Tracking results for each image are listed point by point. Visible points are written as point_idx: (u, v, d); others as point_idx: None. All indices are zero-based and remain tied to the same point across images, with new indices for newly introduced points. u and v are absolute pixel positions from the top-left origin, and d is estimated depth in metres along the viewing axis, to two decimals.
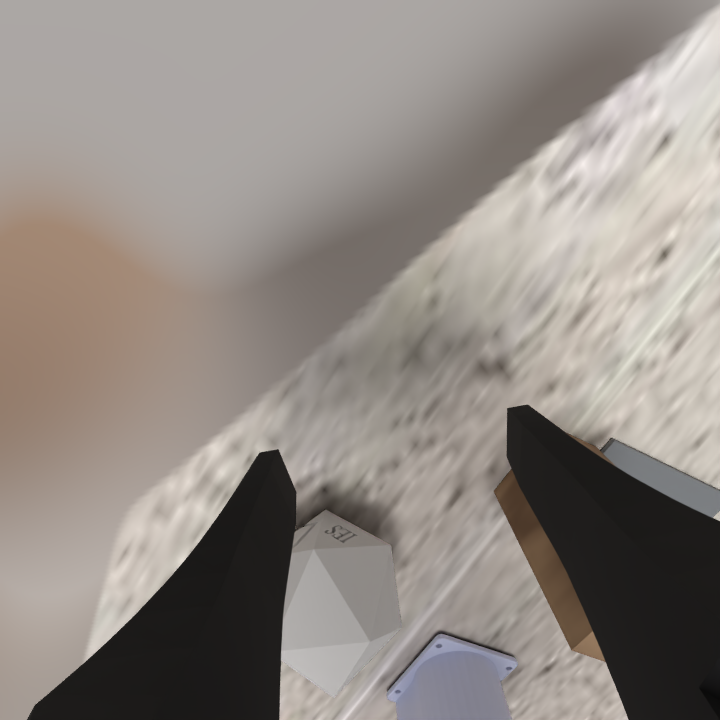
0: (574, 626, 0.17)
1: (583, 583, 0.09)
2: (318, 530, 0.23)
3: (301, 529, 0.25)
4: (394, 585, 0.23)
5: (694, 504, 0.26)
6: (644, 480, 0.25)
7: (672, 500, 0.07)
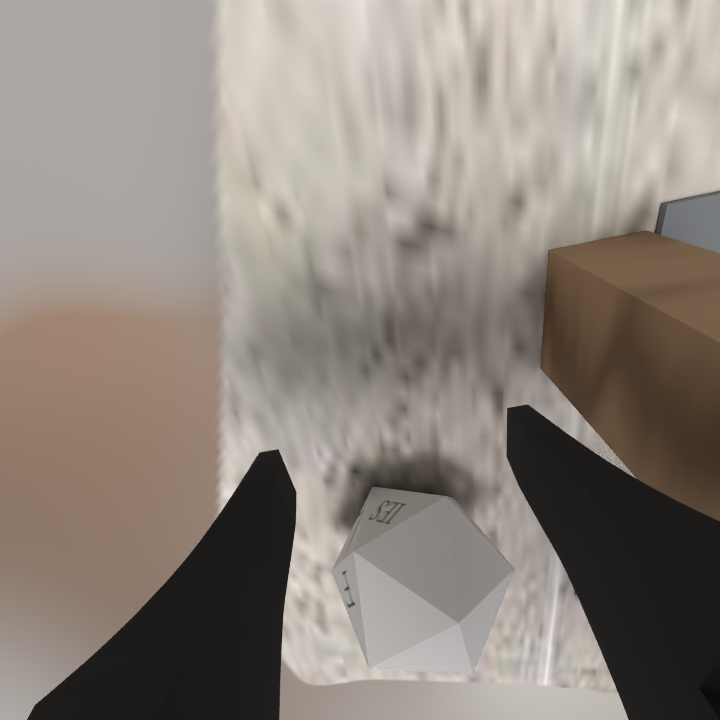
0: None
1: (583, 583, 0.09)
2: (362, 520, 0.20)
3: (356, 520, 0.22)
4: (475, 534, 0.19)
5: None
6: None
7: (672, 500, 0.07)
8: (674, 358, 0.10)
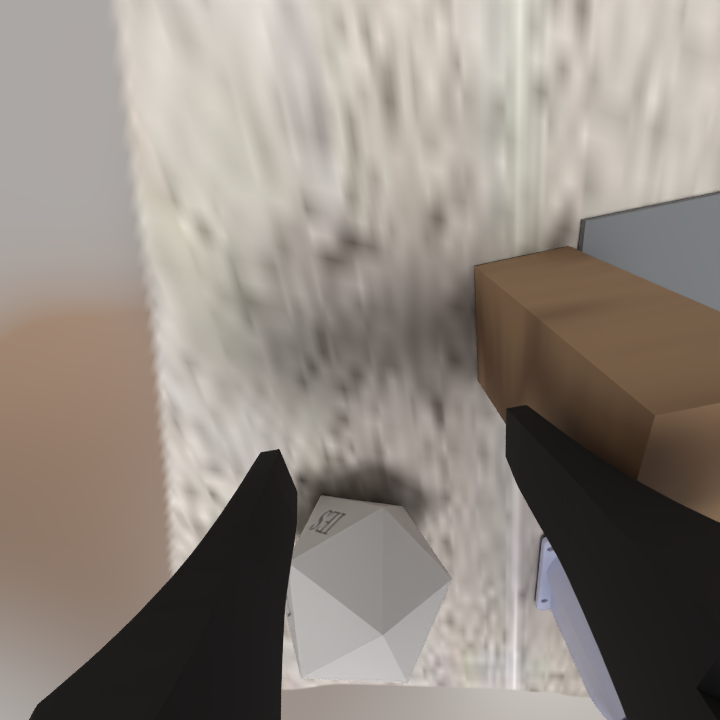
0: None
1: (581, 583, 0.09)
2: (304, 529, 0.20)
3: None
4: (412, 544, 0.19)
5: None
6: (677, 241, 0.16)
7: (670, 500, 0.07)
8: (569, 381, 0.10)
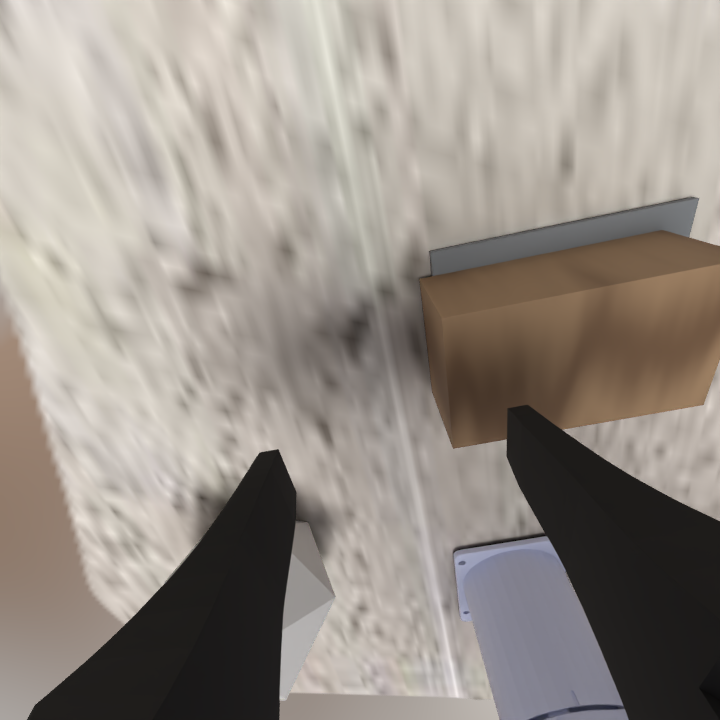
0: (692, 393, 0.15)
1: (583, 583, 0.09)
2: None
3: None
4: (294, 564, 0.19)
5: None
6: None
7: (672, 500, 0.07)
8: (658, 305, 0.13)
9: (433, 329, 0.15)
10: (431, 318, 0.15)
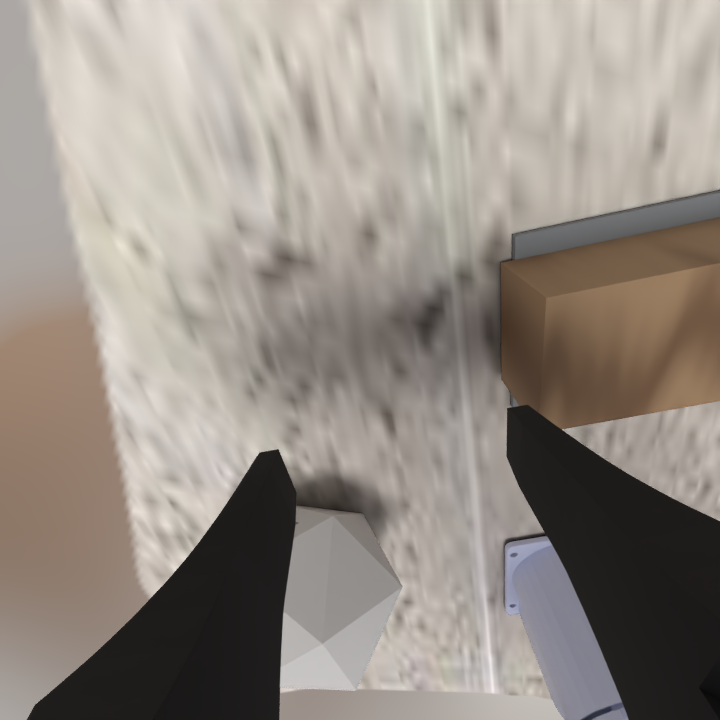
0: None
1: (583, 583, 0.09)
2: None
3: None
4: (361, 553, 0.19)
5: None
6: None
7: (672, 500, 0.07)
8: None
9: (522, 312, 0.14)
10: (520, 301, 0.14)
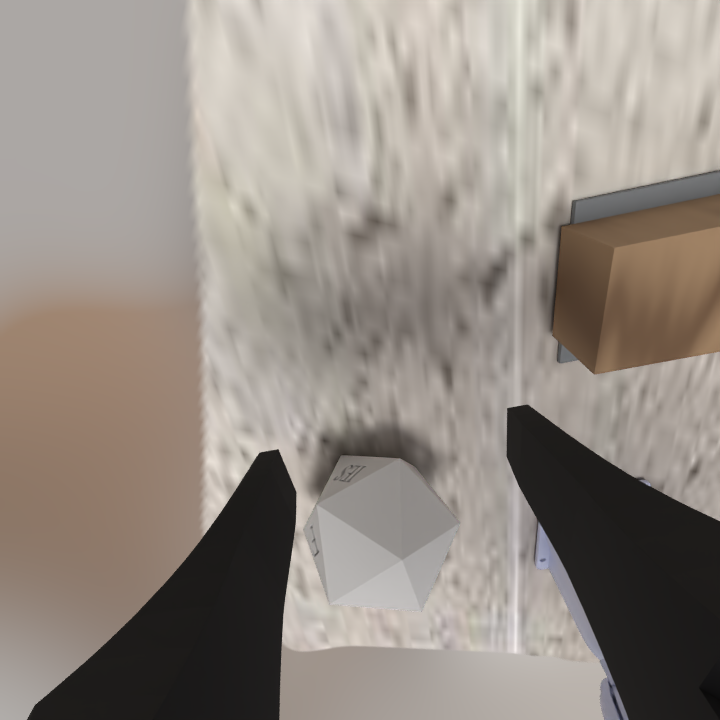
0: None
1: (583, 583, 0.09)
2: (328, 481, 0.23)
3: None
4: (425, 491, 0.21)
5: None
6: None
7: (672, 500, 0.07)
8: None
9: (584, 266, 0.17)
10: (582, 257, 0.17)
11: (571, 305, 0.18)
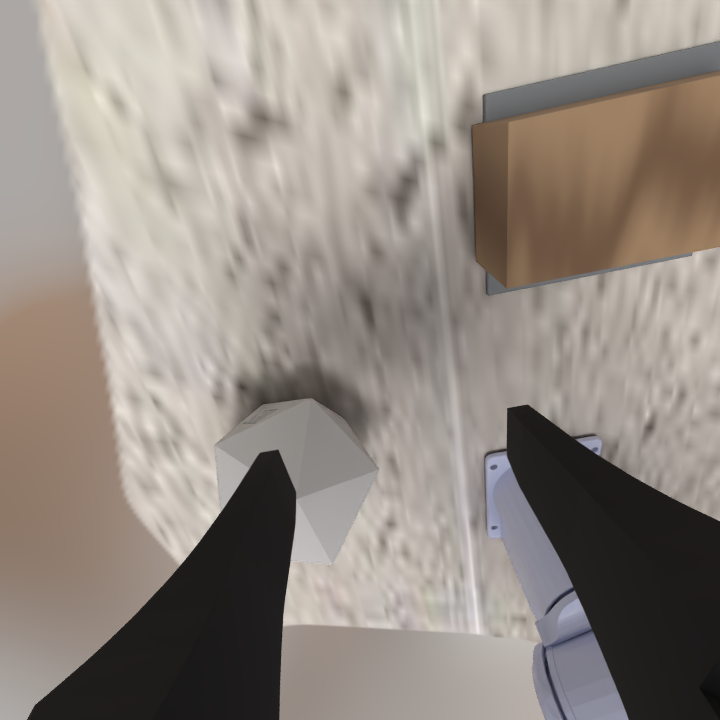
0: None
1: (583, 583, 0.09)
2: (238, 426, 0.21)
3: None
4: (339, 434, 0.20)
5: None
6: None
7: (672, 500, 0.07)
8: None
9: (490, 162, 0.15)
10: (488, 151, 0.15)
11: (485, 216, 0.17)
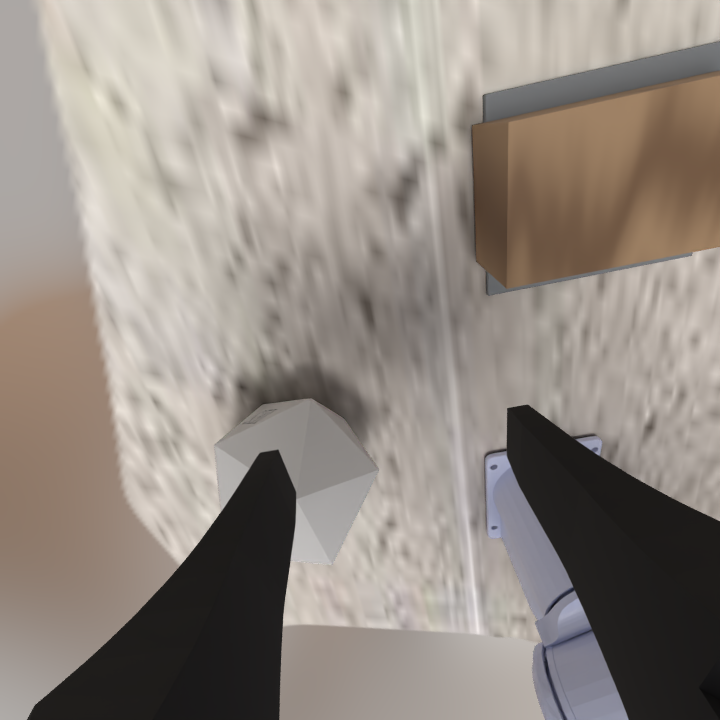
0: None
1: (583, 583, 0.09)
2: (238, 426, 0.21)
3: None
4: (339, 434, 0.20)
5: None
6: None
7: (672, 500, 0.07)
8: None
9: (490, 162, 0.15)
10: (488, 151, 0.15)
11: (485, 216, 0.17)
